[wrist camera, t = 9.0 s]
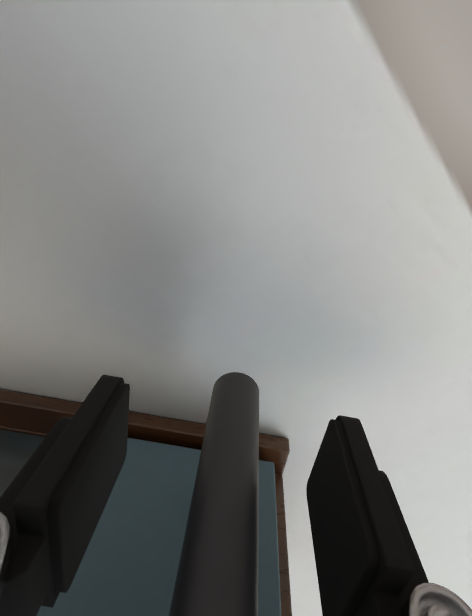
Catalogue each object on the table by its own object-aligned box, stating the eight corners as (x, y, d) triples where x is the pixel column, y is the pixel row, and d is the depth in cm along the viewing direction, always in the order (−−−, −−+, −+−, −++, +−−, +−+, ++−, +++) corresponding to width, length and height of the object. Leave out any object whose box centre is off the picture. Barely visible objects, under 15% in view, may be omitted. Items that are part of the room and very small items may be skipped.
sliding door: (76, 315, 13) (-497, 836, 3) (305, 355, 14) (444, 983, 3) (80, 441, 16) (-224, 936, 6) (271, 473, 16) (289, 1013, 6)
